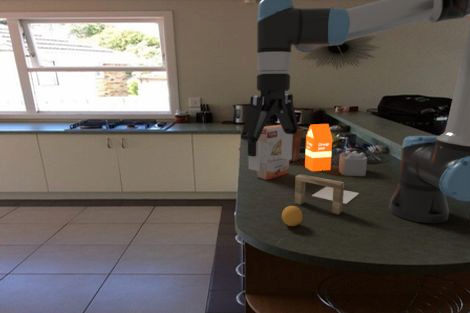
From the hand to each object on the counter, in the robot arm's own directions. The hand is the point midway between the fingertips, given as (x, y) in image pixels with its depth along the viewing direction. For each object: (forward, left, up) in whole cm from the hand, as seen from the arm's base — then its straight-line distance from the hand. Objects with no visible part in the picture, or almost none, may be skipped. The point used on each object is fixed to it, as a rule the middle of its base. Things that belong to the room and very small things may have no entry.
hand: (271, 164), depth 76 cm
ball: (-1, -9, -16) cm, 19 cm away
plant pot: (+39, -74, -19) cm, 86 cm away
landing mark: (-1, -39, -19) cm, 43 cm away
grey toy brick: (+5, -71, -19) cm, 73 cm away
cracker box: (+28, -45, -19) cm, 57 cm away
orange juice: (+19, -67, -19) cm, 72 cm away
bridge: (-1, -25, -19) cm, 31 cm away
